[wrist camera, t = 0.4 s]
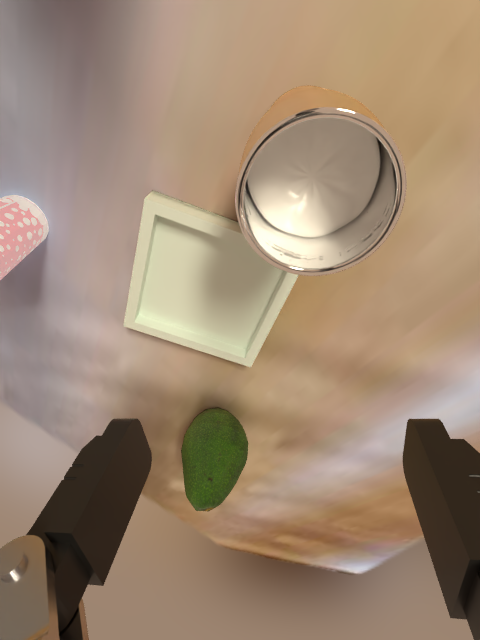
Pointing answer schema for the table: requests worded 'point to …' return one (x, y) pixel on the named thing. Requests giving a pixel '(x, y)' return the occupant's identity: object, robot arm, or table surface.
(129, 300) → the tray
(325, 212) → the metal tumbler
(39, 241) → the beverage cup
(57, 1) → the table surface
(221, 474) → the avocado
